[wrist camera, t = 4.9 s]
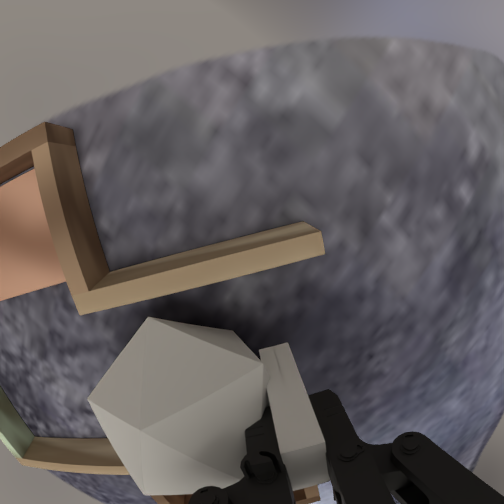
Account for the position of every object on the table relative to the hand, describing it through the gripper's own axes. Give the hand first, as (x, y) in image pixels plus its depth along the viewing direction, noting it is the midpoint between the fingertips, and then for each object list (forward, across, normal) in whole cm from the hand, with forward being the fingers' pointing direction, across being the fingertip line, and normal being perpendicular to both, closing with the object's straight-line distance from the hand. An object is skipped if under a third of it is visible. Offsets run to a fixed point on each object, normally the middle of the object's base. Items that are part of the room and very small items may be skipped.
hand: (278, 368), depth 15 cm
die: (+3, +4, 0) cm, 5 cm away
